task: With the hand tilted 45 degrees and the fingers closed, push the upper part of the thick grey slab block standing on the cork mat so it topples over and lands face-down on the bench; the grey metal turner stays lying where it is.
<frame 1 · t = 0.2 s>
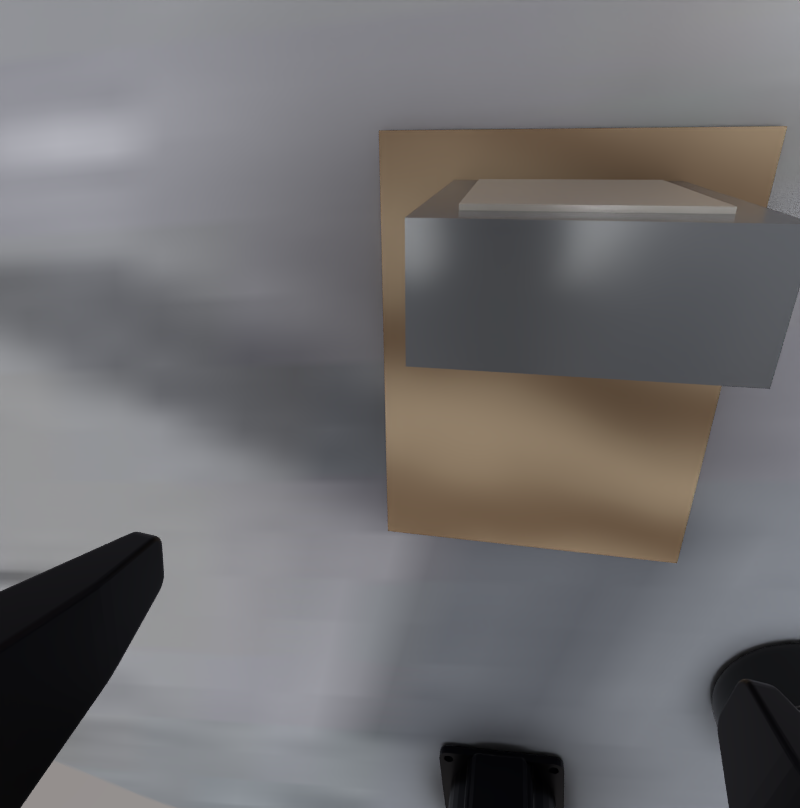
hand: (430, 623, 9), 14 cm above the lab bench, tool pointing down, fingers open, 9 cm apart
cork mat: (544, 367, 21), on the lab bench
supplement bottle: (788, 688, 26), on the lab bench
thick grey slab block: (559, 229, 19), resting on cork mat
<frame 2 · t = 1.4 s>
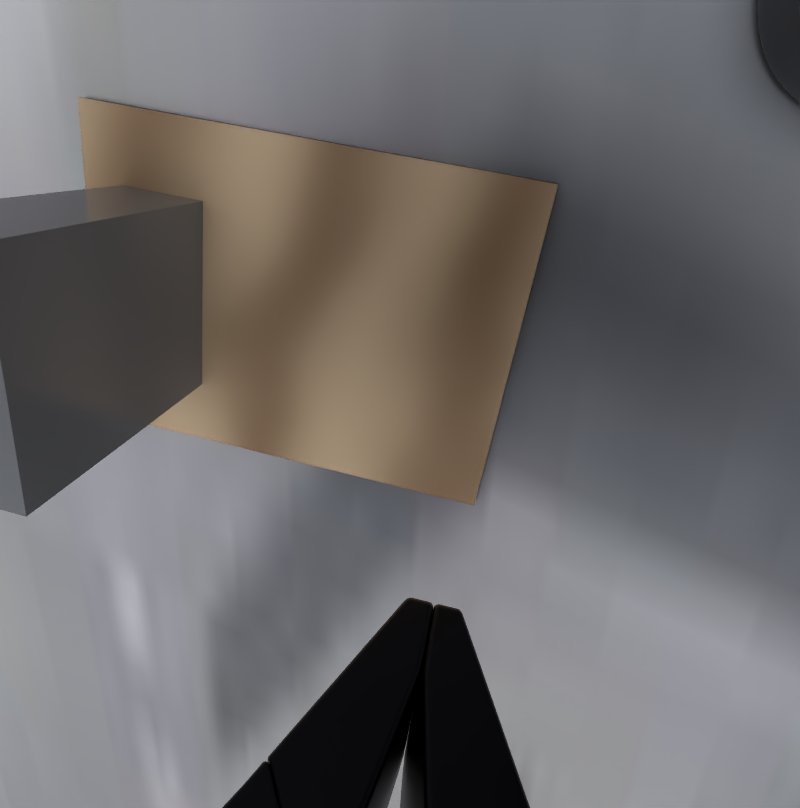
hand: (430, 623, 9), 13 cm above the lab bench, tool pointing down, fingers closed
cork mat: (296, 315, 21), on the lab bench
thick grey slab block: (165, 291, 21), resting on cork mat
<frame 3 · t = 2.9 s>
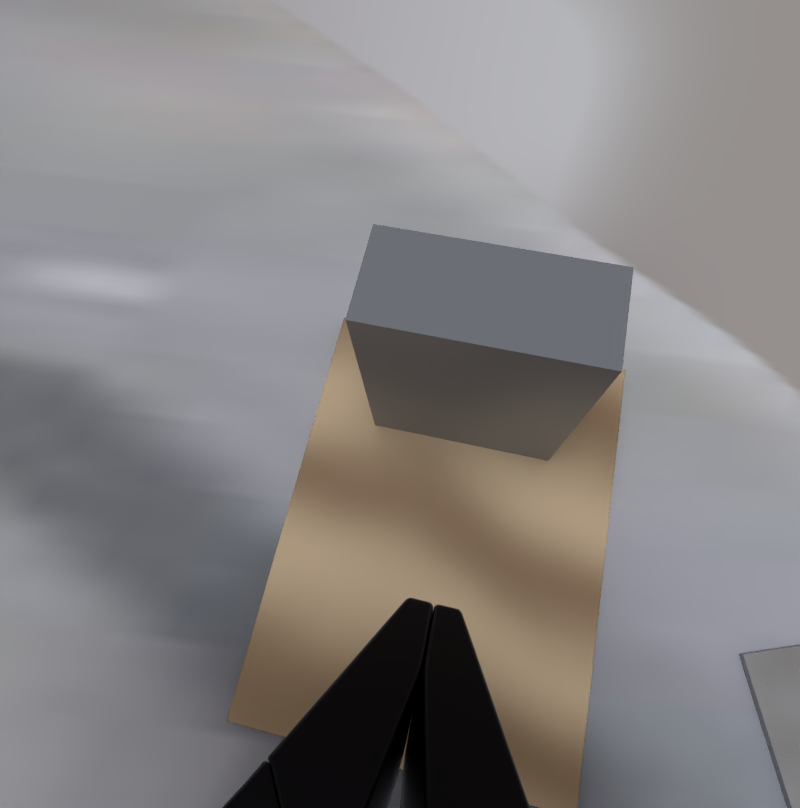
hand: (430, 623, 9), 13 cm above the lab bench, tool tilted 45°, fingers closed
cork mat: (442, 531, 22), on the lab bench
thick grey slab block: (467, 407, 23), resting on cork mat
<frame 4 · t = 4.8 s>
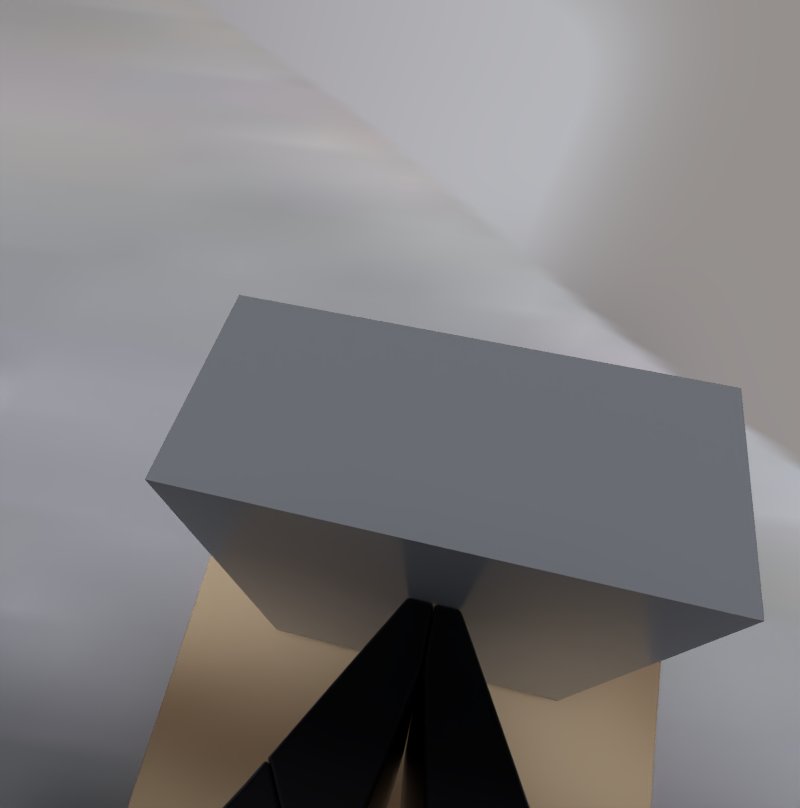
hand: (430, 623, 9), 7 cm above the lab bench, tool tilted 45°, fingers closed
thick grey slab block: (425, 602, 15), point 1 cm above the lab bench, tilted 12°, touching cork mat
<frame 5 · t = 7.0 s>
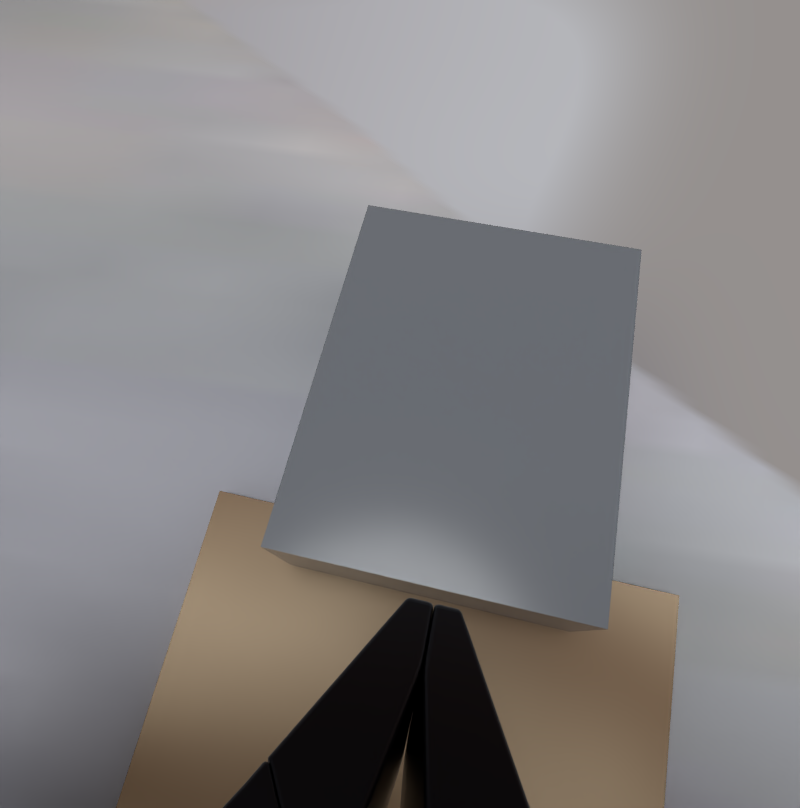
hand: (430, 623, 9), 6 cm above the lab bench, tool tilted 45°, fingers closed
thick grey slab block: (427, 592, 13), point 2 cm above the lab bench, tilted 94°, touching cork mat
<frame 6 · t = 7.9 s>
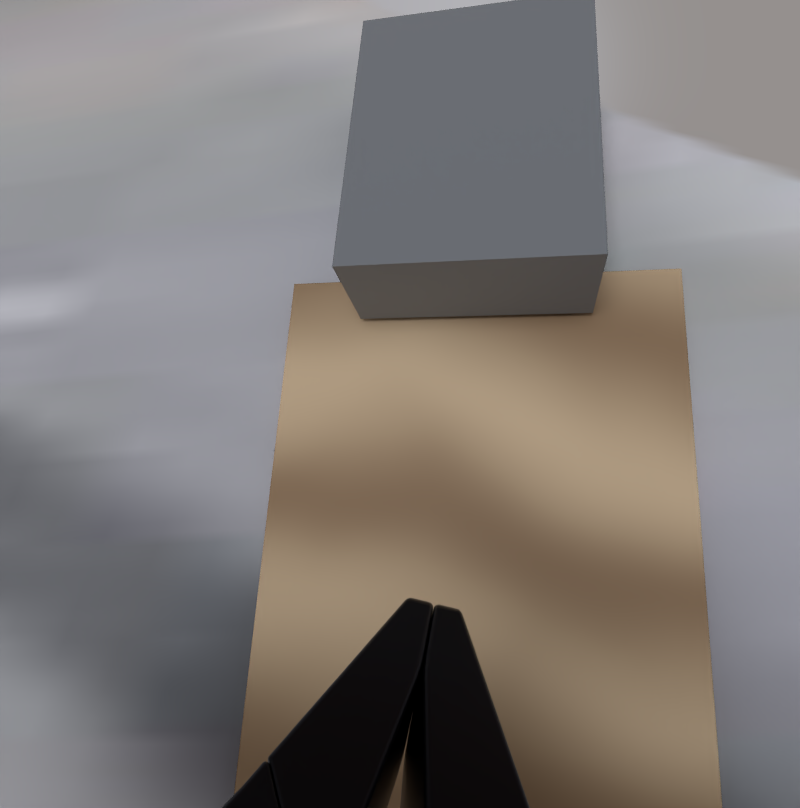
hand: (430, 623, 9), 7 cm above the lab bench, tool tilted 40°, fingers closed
cork mat: (468, 539, 16), on the lab bench
thick grey slab block: (468, 290, 16), point 2 cm above the lab bench, tilted 94°, touching cork mat
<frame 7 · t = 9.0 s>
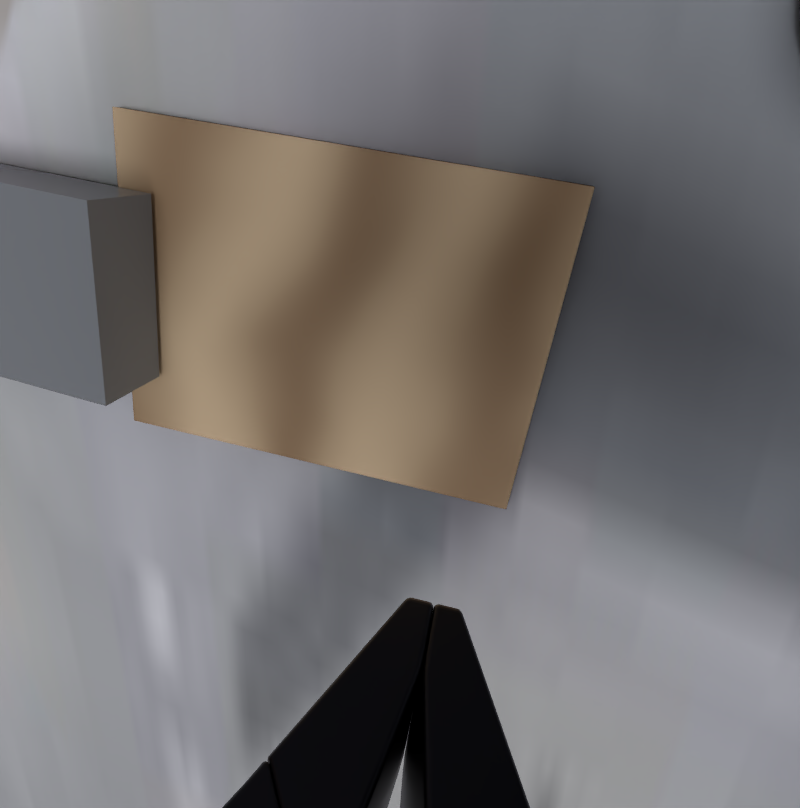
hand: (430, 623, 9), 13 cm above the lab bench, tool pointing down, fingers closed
cork mat: (328, 320, 21), on the lab bench
thick grey slab block: (128, 300, 20), point 2 cm above the lab bench, tilted 94°, touching cork mat
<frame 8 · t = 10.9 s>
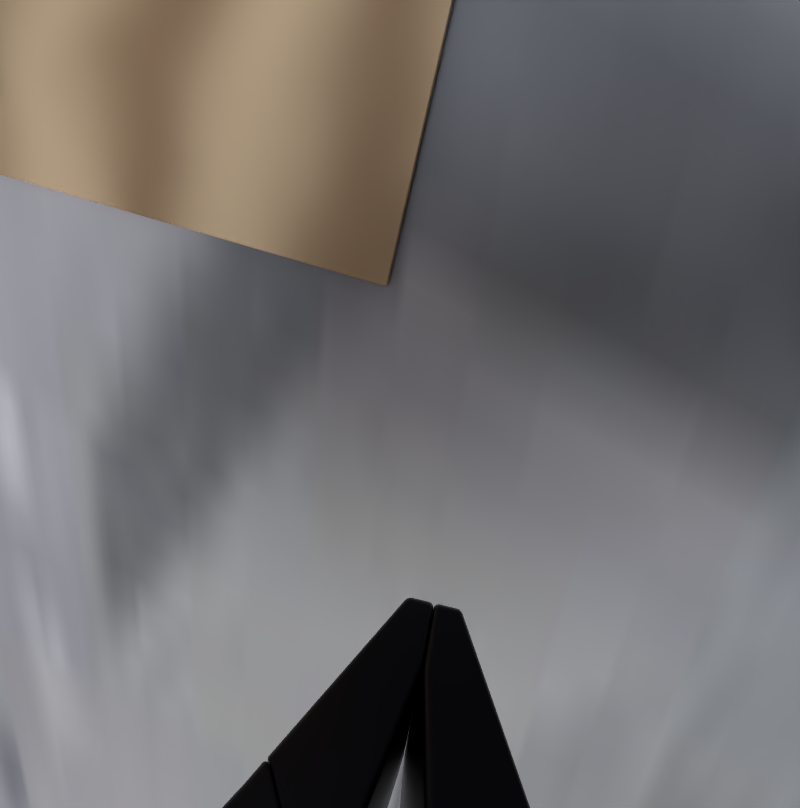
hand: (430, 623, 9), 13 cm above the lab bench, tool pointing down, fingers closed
cork mat: (187, 29, 18), on the lab bench
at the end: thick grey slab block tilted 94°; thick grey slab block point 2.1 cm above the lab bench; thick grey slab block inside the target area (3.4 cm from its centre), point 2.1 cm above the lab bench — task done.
